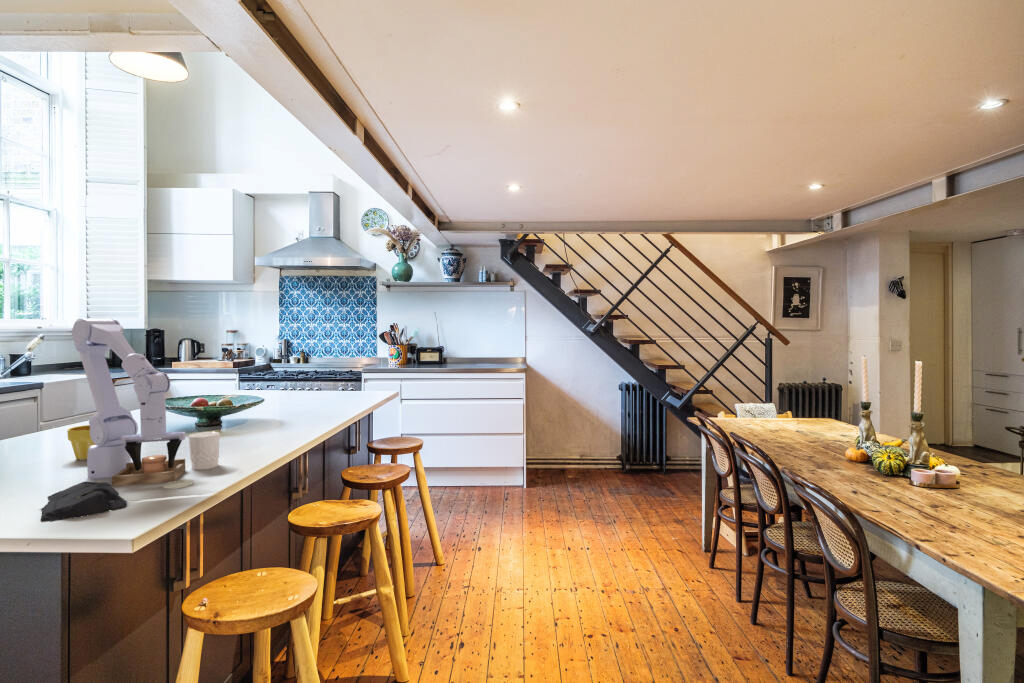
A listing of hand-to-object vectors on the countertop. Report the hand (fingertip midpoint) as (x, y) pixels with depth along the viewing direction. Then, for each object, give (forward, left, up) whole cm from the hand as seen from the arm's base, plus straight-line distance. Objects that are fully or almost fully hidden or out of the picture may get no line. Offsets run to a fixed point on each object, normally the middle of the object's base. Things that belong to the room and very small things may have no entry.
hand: (154, 468), depth 148 cm
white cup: (+10, +9, -3) cm, 14 cm away
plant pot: (-28, +36, -3) cm, 46 cm away
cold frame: (-1, 0, -3) cm, 3 cm away
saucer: (+8, -10, -3) cm, 13 cm away
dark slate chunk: (-10, -18, -4) cm, 21 cm away
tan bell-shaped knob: (0, 0, -3) cm, 3 cm away
